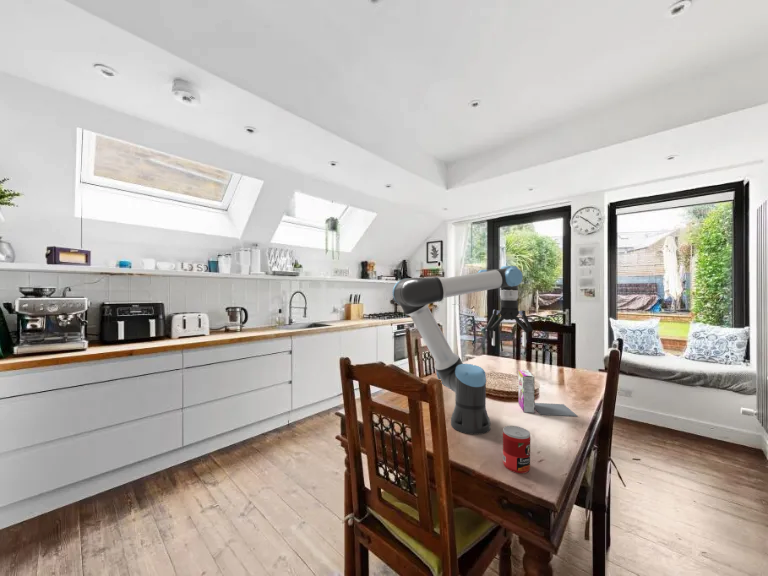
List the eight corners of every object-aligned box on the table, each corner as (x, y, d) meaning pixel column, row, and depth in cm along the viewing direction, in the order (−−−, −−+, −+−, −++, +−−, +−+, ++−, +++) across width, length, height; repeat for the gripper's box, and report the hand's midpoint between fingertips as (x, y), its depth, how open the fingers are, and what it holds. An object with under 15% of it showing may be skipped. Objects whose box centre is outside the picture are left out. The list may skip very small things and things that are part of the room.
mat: (540, 414, 140) (540, 413, 140) (530, 403, 154) (530, 402, 154) (577, 416, 138) (577, 415, 138) (563, 405, 152) (563, 404, 152)
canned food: (521, 477, 93) (521, 439, 93) (497, 464, 100) (497, 429, 100) (535, 468, 98) (535, 432, 98) (511, 457, 104) (511, 423, 104)
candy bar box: (517, 403, 153) (517, 369, 153) (528, 404, 152) (529, 369, 152) (522, 412, 142) (523, 375, 142) (535, 413, 141) (535, 376, 141)
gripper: (482, 299, 146) (482, 346, 146) (540, 300, 142) (540, 348, 142) (479, 299, 153) (479, 343, 153) (534, 299, 150) (534, 345, 150)
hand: (508, 345), depth 148 cm, fingers open, 13 cm apart
